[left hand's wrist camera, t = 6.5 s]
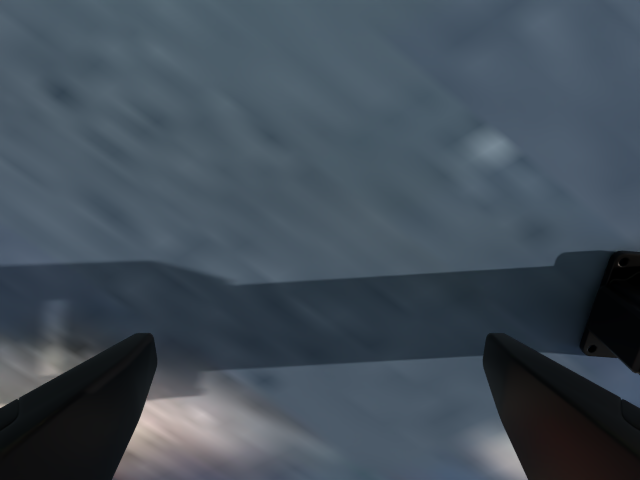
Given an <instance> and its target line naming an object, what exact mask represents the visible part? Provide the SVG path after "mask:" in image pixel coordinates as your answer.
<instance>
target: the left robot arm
mask: <svg viewBox="0 0 640 480" xmlns="http://www.w3.org/2000/svg"><path fill="white" fill-rule="evenodd" d="M622 258H624V260H623V261H622V262H621V263H619V261H620V260H621V259H622ZM591 345H592V347H590V348H589V346H591ZM580 349H581V350H582V351H583V352H584V353H585V354H586V355H588V356H597V357H611V358H619V359H620V360H621V361H622V362H623V363H624V364H625V365H626V366H627V367H628V368H629V369H630V370H631V371H632V372H634V373H638V374H639V375H640V252H631V251H618V252H615V253H614V254H613V255H612V256H611V258H610V260H609V263H608V266H607V269H606V272H605V274H604V277H603V280H602V283H601V286H600V289H599V291H598V294H597V296H596V299H595V302H594V305H593V308H592V311H591V313H590V316H589V319H588V322H587V325H586V328H585V331H584V334H583V337H582V340H581V343H580ZM156 367H157V355H156V348H155V342H154V337H153V335H152V334H151V333H136V334H134V335H132V336H130V337H129V338H127V339H125V340H123V341H121V342H119V343H118V344H116V345H114V346H112V347H110V348H109V349H107V350H105V351H103V352H101V353H100V354H98V355H96V356H94V357H92V358H90V359H89V360H87V361H85V362H83V363H81V364H80V365H78V366H76V367H74V368H72V369H71V370H69V371H67V372H65V373H63V374H61V375H60V376H58V377H56V378H54V379H52V380H51V381H49V382H47V383H45V384H43V385H42V386H40V387H38V388H36V389H34V390H33V391H31V392H29V393H27V394H25V395H23V396H22V397H20V398H19V400H18V399H16V400H14V401H12V402H11V403H9V404H7V405H5V406H3V407H2V408H0V480H112V478H113V476H114V474H115V472H116V469H117V467H118V465H119V463H120V461H121V458H122V456H123V454H124V452H125V450H126V448H127V445H128V443H129V441H130V439H131V437H132V435H133V432H134V430H135V428H136V426H137V423H138V421H139V419H140V416H141V413H142V411H143V408H144V405H145V401H146V398H147V395H148V392H149V389H150V386H151V383H152V380H153V377H154V374H155V371H156ZM483 367H484V371H485V374H486V377H487V380H488V383H489V386H490V389H491V392H492V395H493V398H494V401H495V405H496V408H497V411H498V413H499V416H500V419H501V421H502V423H503V426H504V428H505V430H506V432H507V435H508V437H509V439H510V441H511V443H512V445H513V448H514V450H515V452H516V454H517V456H518V458H519V461H520V463H521V465H522V467H523V469H524V472H525V474H526V476H527V478H528V480H640V408H638V407H637V406H635V405H633V404H631V403H629V402H628V401H626V400H624V399H622V400H621V398H620V397H618V396H617V395H615V394H613V393H611V392H609V391H608V390H606V389H604V388H602V387H600V386H598V385H597V384H595V383H593V382H591V381H589V380H588V379H586V378H584V377H582V376H580V375H579V374H577V373H575V372H573V371H571V370H569V369H568V368H566V367H564V366H562V365H560V364H559V363H557V362H555V361H553V360H551V359H549V358H548V357H546V356H544V355H542V354H540V353H539V352H537V351H535V350H533V349H531V348H530V347H528V346H526V345H524V344H522V343H521V342H519V341H517V340H515V339H513V338H511V337H510V336H508V335H506V334H504V333H489V334H488V335H487V337H486V342H485V348H484V355H483Z"/></svg>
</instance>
